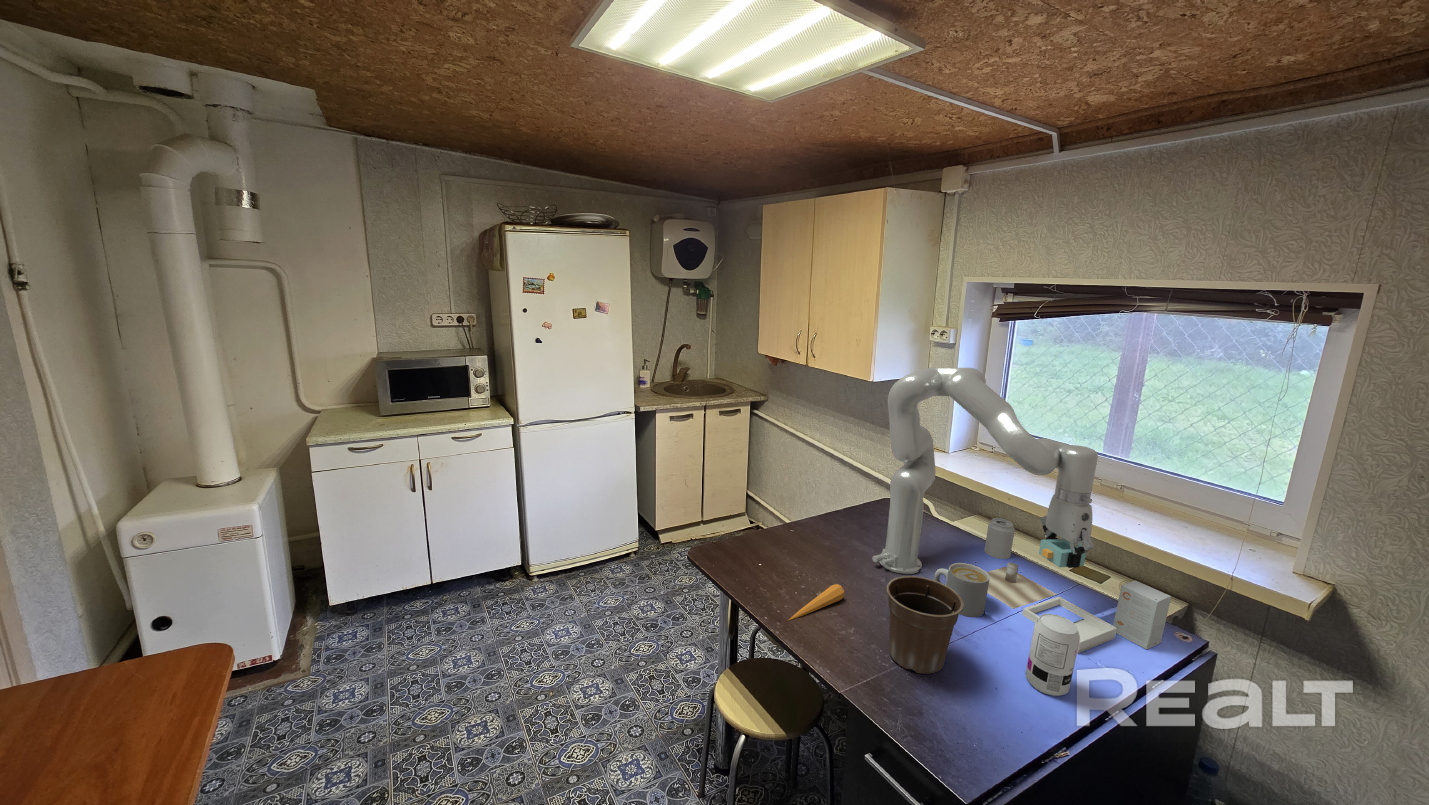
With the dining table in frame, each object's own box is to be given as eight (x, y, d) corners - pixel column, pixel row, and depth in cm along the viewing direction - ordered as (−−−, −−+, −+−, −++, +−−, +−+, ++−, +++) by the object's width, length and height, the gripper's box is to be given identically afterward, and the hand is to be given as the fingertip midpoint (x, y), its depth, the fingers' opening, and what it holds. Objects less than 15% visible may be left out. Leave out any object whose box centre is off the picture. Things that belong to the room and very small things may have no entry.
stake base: (1012, 612, 145) (1016, 591, 143) (963, 582, 159) (966, 562, 157) (1056, 598, 152) (1060, 578, 151) (1005, 570, 166) (1008, 551, 165)
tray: (1077, 653, 129) (1079, 642, 129) (1021, 618, 142) (1023, 608, 141) (1114, 638, 135) (1117, 628, 135) (1057, 606, 148) (1059, 596, 148)
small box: (1161, 643, 134) (1172, 596, 131) (1146, 650, 131) (1158, 602, 128) (1125, 624, 141) (1135, 579, 138) (1110, 630, 138) (1120, 584, 135)
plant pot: (914, 627, 137) (922, 569, 134) (969, 668, 123) (979, 604, 120) (865, 645, 130) (871, 584, 126) (917, 690, 116) (926, 623, 112)
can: (1004, 551, 178) (1009, 517, 175) (1014, 563, 170) (1020, 528, 168) (980, 549, 178) (985, 515, 176) (989, 561, 171) (994, 526, 168)
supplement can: (1017, 671, 123) (1027, 612, 119) (1051, 670, 123) (1063, 611, 120) (1040, 698, 115) (1053, 636, 111) (1077, 697, 115) (1091, 635, 112)
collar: (1083, 565, 138) (1086, 551, 137) (1053, 567, 136) (1056, 553, 136) (1062, 552, 145) (1064, 538, 144) (1033, 554, 143) (1036, 540, 142)
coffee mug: (991, 609, 146) (997, 575, 144) (971, 621, 140) (977, 586, 138) (945, 585, 157) (950, 554, 154) (925, 596, 151) (929, 563, 149)
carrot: (837, 596, 151) (832, 581, 151) (849, 598, 147) (844, 582, 147) (784, 628, 140) (779, 611, 140) (795, 631, 136) (790, 613, 136)
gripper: (1115, 508, 129) (1102, 576, 133) (1058, 481, 146) (1048, 543, 150) (1087, 509, 128) (1075, 578, 132) (1033, 482, 144) (1024, 544, 148)
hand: (1061, 559), depth 141 cm, fingers closed on collar, 7 cm apart
